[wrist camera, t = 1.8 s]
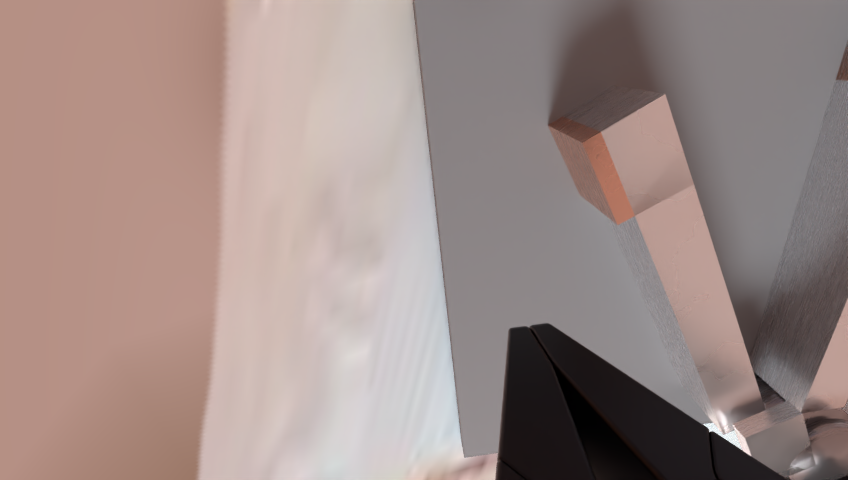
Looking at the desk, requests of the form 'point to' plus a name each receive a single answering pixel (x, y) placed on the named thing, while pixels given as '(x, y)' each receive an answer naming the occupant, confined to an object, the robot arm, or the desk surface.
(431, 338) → the desk surface
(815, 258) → the fixed tong arm
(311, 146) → the desk surface
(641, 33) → the mat
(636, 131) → the tong arm
